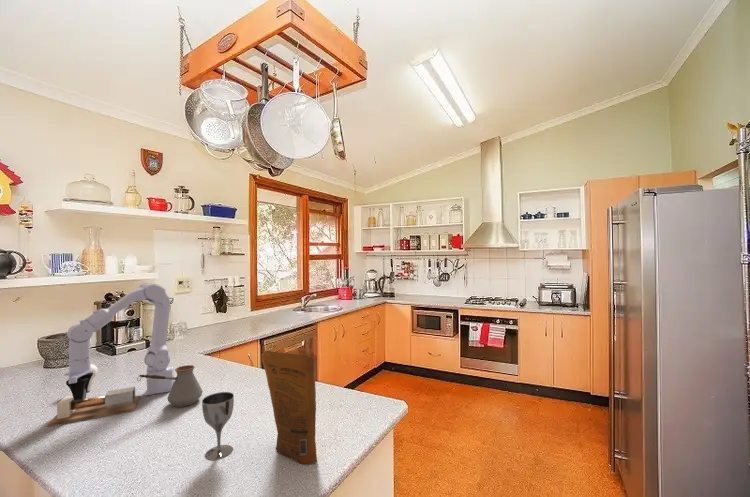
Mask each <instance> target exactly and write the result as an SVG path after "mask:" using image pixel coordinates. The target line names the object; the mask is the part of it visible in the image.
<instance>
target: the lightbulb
mask: <svg viewBox="0 0 750 497" xmlns="http://www.w3.org/2000/svg"><path fill="white" fill-rule="evenodd" d="M98 370H99V369H98V367H97V366H96V365H95V364H92V363H91V372H93V375H92V377H91V379H90V382H89V385H88V389H87V392H90V391H91V390H92V389H93V384H94V379H95V377H96V375H97V373H98ZM91 372H90V373H91Z"/></svg>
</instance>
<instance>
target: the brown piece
mask: <svg viewBox="0 0 750 497" xmlns="http://www.w3.org/2000/svg"><path fill="white" fill-rule="evenodd" d="M104 404H105V395H100V396H95V397H89V398H87V393H86V388H84V395H83V398H82V399H79V400H74V401H71V410H76V409H82V408H87V407H93V406H99V405H104Z"/></svg>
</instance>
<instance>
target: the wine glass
mask: <svg viewBox="0 0 750 497" xmlns="http://www.w3.org/2000/svg"><path fill="white" fill-rule="evenodd" d="M234 399H235V396H234V393H233V392H230V391H218V392H215V393H211V394H209V395H207V396H205V397H204V398H202V400H201V403H202V404H201V407H202V408H201V409H202V415H203V420H204V421H205V423H206V424H207V425H208V426H209V427H211V428H212V429H213V430H214V431H215V436H216V442H217V445H215V446H214V447H212V448H210V449H208V450H207V451H206V452H205V454H204V458H205V460H208V461H218V460H221V459H222V460H223V459H224V458H226V457H228V456H229V455H231V453H233V451H234V448H233V446H232V445H230V444H221V441H222V440H221V437H222V431H223V428H225V426H226V424H227V423H228V422H229V421H230V419H231V417H232V414H233V411H234V405H235V404H234V403H235V400H234Z"/></svg>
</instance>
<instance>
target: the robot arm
mask: <svg viewBox="0 0 750 497" xmlns="http://www.w3.org/2000/svg"><path fill="white" fill-rule="evenodd" d="M140 301H148V302H150V303H151V304H152V305H153V306H154V314H153V316H154V317H153V322H152V324H153V325H152V334H151V341H150V346H148V349H147V353H146V355H145V356H144V360H143V362H144V364H145V365H146V366H147V368H146V375H147V374H148V375H158V376H165V377H175V375H174V374H175V370H174V366H169V364H170V361H171V357H170V355H169V349H168V346H167V338H168V327H169V319H170V311H171V300H170V298H169V296H168V294H167V291H166V289H165V288H164V287H163V286H161V285H160V284H156V283H148V282H147V283H142V284H140V285H139V286H137V287H136V288H133V289H132V290H131V291H129V292H128V293H127V294H126V295H124V296H122V297H121V298H120V299H117V301H116V302H114V303H113V304H111V305H110V306H109V307H107V308H100V309H95V310H94V311H92V314H91V315H89V316H87V317H86V318H84V319H81V320H79V323H75V324H74V325H72V326H70V327H69V328H68V330H67V332H66V334H65V335H66V337H67V338H68V340H69V342H68V344H69V346H68V371H66V372H64V376H68V379H67V380H66V381H65V384H66V385H67V387H68V388H69V389H70V393H71V395H73V398H74V400H79V399H82V398H83V395H84V388H86V394H87V392H88V391H87V389H88V385H89V382H90V379H91V377H92V375H93V372H91V364H92V363H91V360H92V358H91V338H92V337H93V335H94V333H96V332H97V331H99V330H100V329H102V328H103V327H105V326H106V325H107V324H109V323H111V322H112V321H113V320H114V316H115V315H116V314H118V313H119V312H121V311H122V310H125V308H127V307H129V306H130V305H132V304H134V303H135V302H140ZM90 372H91V373H90ZM174 381H175V380H170V379H152V378H146V390H145V392H144V395H143V396H151V395H157V394H162V393H167V392H168V393H170V391H171V388H172V386H173V384H174Z"/></svg>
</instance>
